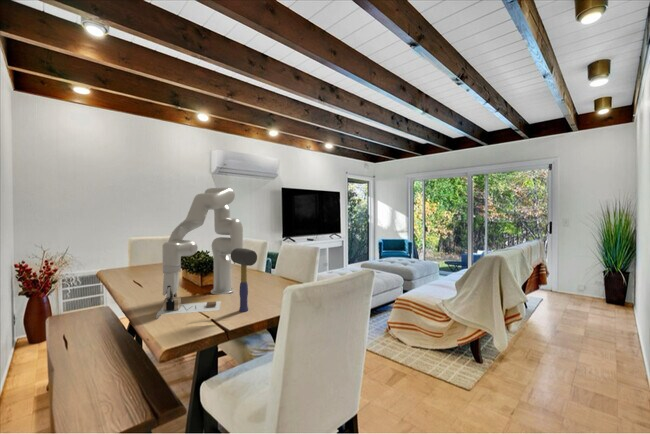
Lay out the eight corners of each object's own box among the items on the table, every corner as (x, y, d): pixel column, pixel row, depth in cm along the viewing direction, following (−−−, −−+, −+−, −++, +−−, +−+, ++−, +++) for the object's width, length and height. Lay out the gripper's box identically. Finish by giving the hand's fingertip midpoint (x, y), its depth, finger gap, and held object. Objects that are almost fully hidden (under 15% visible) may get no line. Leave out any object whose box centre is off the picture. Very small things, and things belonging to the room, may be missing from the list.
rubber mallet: (258, 314, 137) (258, 249, 136) (244, 319, 131) (244, 250, 131) (243, 308, 145) (243, 246, 144) (229, 312, 140) (229, 248, 139)
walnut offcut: (207, 305, 145) (207, 302, 145) (216, 304, 146) (216, 301, 146) (206, 307, 142) (206, 304, 142) (215, 307, 143) (215, 304, 143)
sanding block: (166, 307, 141) (166, 297, 141) (180, 306, 143) (180, 296, 143) (163, 311, 136) (163, 300, 136) (178, 310, 138) (178, 299, 138)
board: (164, 308, 145) (164, 305, 145) (221, 304, 152) (221, 301, 152) (156, 318, 132) (156, 315, 132) (218, 313, 138) (218, 310, 138)
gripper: (167, 265, 146) (167, 303, 147) (157, 272, 130) (157, 314, 130) (184, 265, 148) (184, 302, 149) (176, 272, 132) (176, 313, 132)
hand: (171, 307), depth 139 cm, fingers closed on sanding block, 5 cm apart
